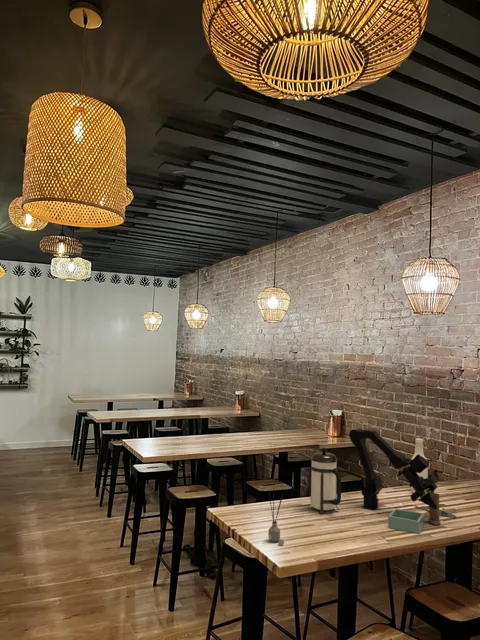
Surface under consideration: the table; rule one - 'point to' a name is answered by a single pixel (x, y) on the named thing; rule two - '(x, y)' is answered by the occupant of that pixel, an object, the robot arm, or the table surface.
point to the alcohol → (420, 451)
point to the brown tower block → (434, 510)
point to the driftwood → (440, 513)
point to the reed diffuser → (275, 525)
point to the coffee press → (325, 481)
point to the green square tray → (406, 521)
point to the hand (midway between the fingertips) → (437, 508)
